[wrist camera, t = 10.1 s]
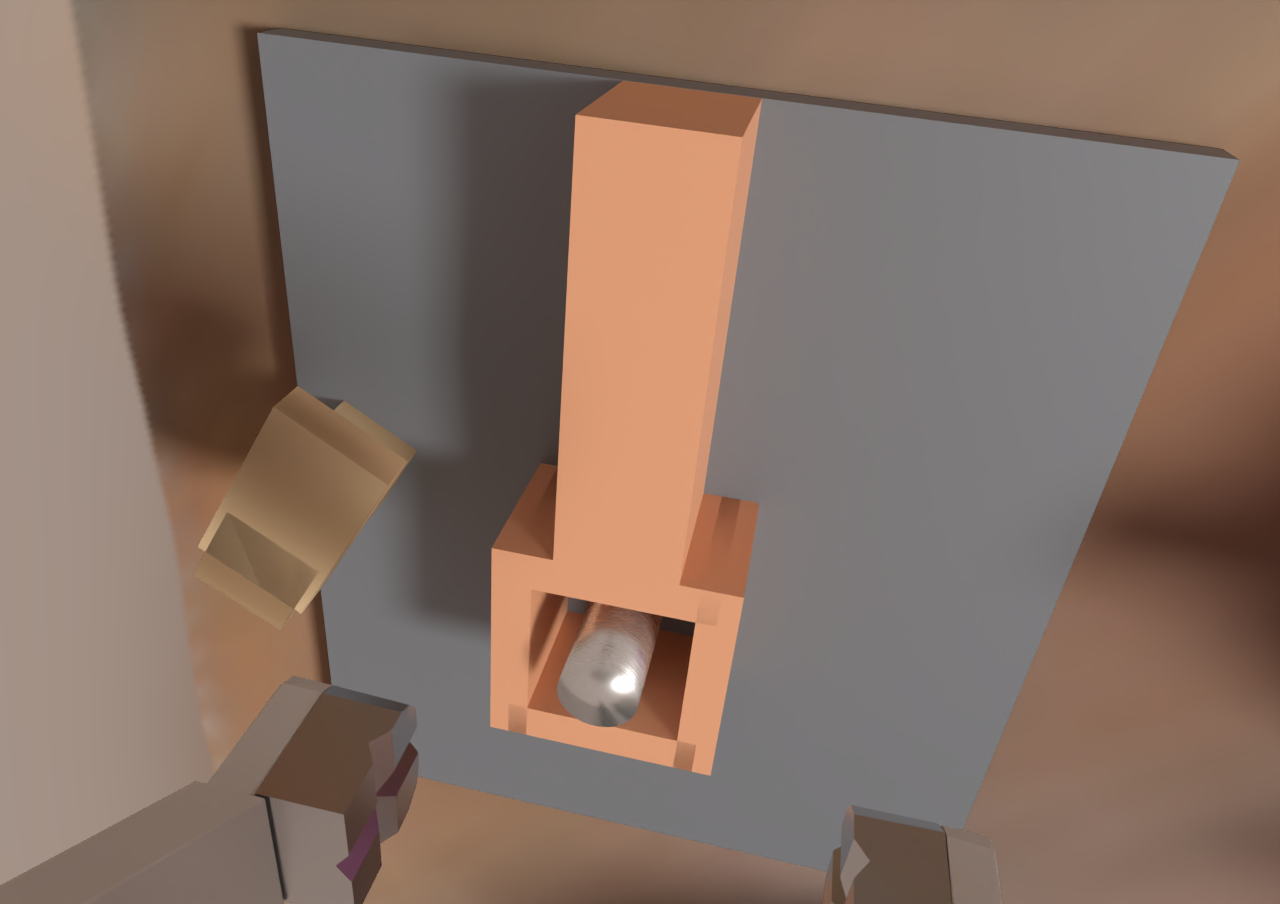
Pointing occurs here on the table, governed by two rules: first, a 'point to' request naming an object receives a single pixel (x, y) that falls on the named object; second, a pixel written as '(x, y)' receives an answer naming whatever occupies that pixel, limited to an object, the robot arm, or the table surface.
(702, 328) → the square column with socket
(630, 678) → the cylinder
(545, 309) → the board
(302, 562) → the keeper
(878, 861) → the robot arm
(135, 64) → the table surface
